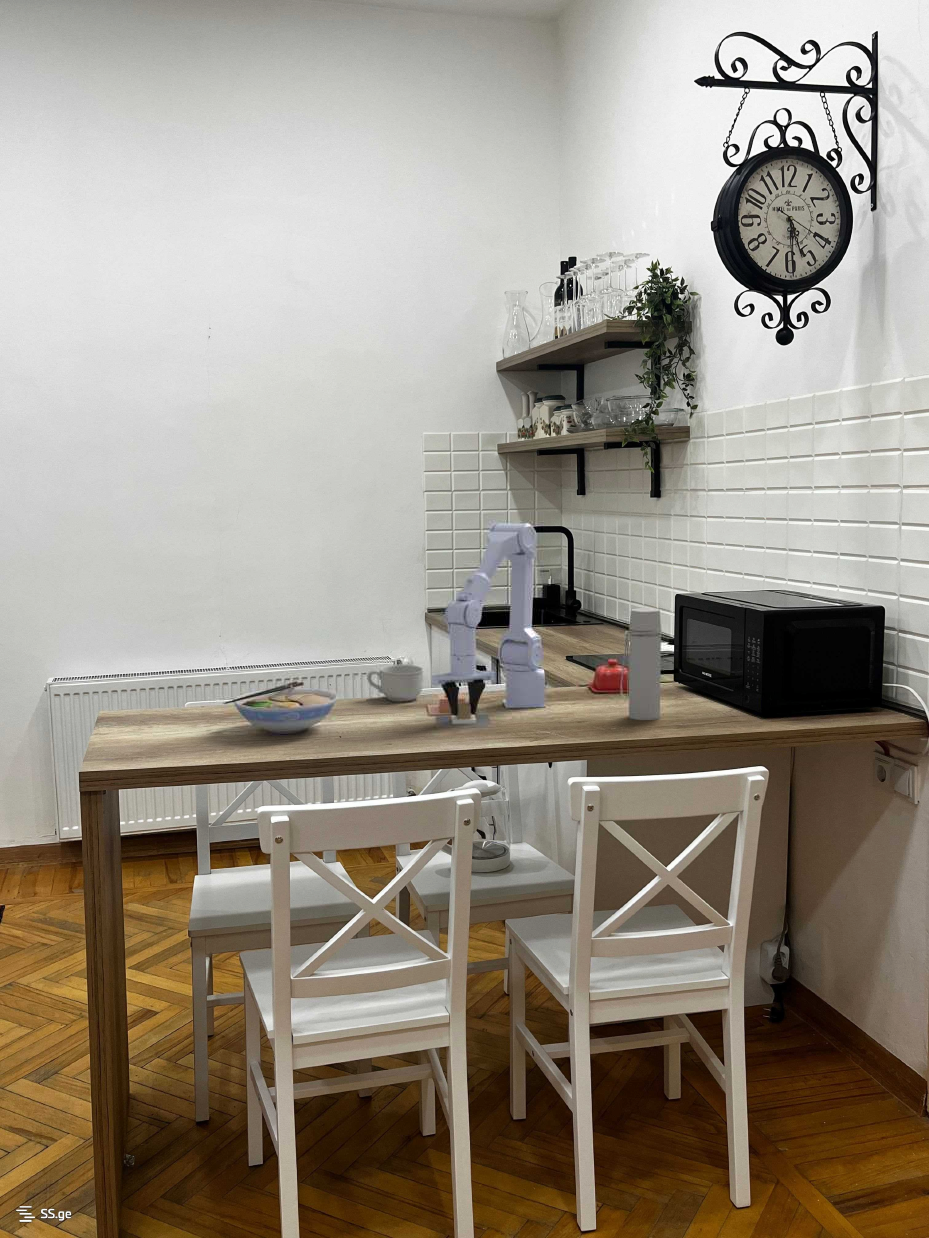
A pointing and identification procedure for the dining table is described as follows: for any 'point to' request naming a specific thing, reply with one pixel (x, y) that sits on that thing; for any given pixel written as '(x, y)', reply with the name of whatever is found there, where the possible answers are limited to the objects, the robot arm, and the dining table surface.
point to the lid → (463, 715)
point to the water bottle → (643, 664)
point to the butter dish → (609, 678)
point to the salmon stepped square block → (443, 706)
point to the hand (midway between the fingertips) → (463, 714)
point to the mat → (447, 723)
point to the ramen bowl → (285, 707)
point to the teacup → (399, 682)
